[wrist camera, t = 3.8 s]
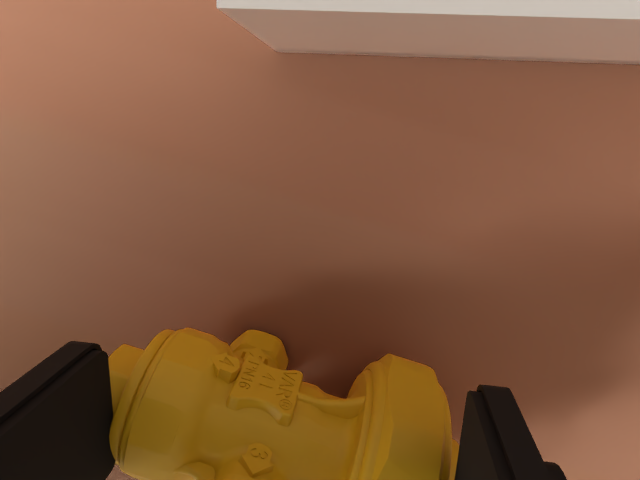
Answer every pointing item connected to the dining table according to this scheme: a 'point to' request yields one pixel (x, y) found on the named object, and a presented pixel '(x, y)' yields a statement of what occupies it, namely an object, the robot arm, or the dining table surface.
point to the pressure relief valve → (271, 415)
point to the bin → (448, 28)
